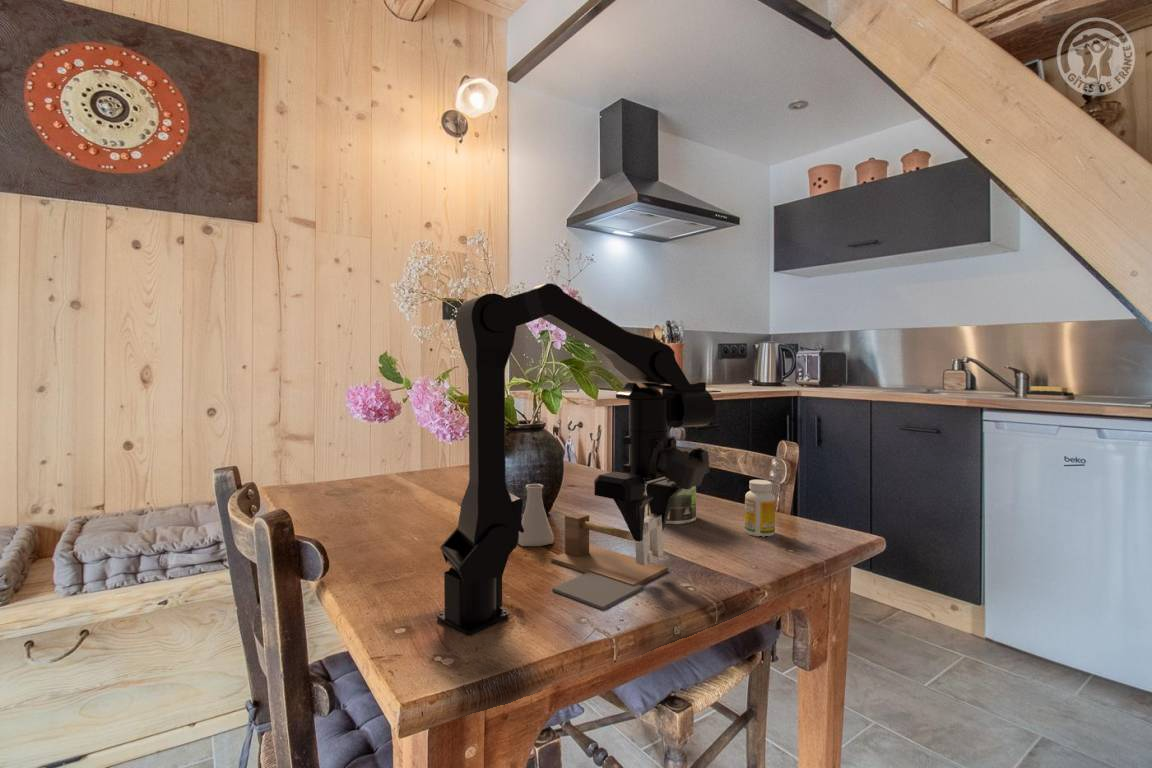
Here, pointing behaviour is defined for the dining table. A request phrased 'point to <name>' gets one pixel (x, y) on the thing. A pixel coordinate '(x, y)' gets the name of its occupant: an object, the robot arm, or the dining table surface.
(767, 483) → the supplement bottle
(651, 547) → the slotted rectangular block
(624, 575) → the link stand
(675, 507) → the coffee can
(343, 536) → the dining table surface
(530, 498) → the flask
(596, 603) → the slate coaster
